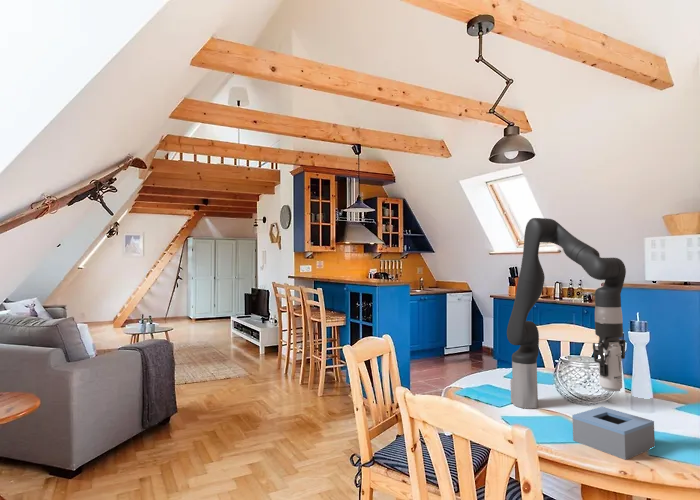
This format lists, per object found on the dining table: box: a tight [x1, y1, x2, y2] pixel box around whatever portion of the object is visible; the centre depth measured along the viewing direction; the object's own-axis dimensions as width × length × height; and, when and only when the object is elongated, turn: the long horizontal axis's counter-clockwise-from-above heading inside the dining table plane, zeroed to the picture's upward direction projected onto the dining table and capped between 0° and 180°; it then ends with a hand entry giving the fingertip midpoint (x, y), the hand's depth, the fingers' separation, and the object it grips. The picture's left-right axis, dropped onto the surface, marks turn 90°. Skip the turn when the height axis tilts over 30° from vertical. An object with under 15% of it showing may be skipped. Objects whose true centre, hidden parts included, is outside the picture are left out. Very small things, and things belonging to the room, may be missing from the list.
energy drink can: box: [598, 341, 623, 392], centre depth 136 cm, size 6×6×15 cm
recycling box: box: [571, 406, 656, 461], centre depth 135 cm, size 16×16×8 cm
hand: (610, 374), depth 136 cm, fingers closed on energy drink can, 6 cm apart
